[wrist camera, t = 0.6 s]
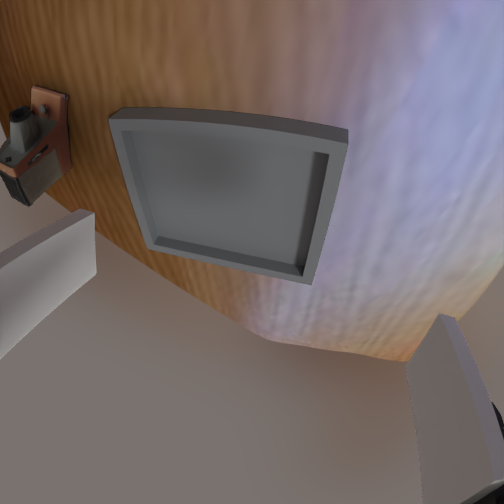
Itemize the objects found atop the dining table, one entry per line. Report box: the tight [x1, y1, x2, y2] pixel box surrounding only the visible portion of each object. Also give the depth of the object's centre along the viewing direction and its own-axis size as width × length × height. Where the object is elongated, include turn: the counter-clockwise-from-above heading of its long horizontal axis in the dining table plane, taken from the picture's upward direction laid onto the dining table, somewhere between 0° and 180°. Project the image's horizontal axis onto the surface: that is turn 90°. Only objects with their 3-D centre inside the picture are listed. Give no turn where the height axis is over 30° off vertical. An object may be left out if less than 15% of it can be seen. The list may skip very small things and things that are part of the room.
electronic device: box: [0, 85, 72, 206], centre depth 21 cm, size 4×10×8 cm, turn 160°
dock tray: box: [108, 107, 348, 285], centre depth 25 cm, size 15×17×2 cm
